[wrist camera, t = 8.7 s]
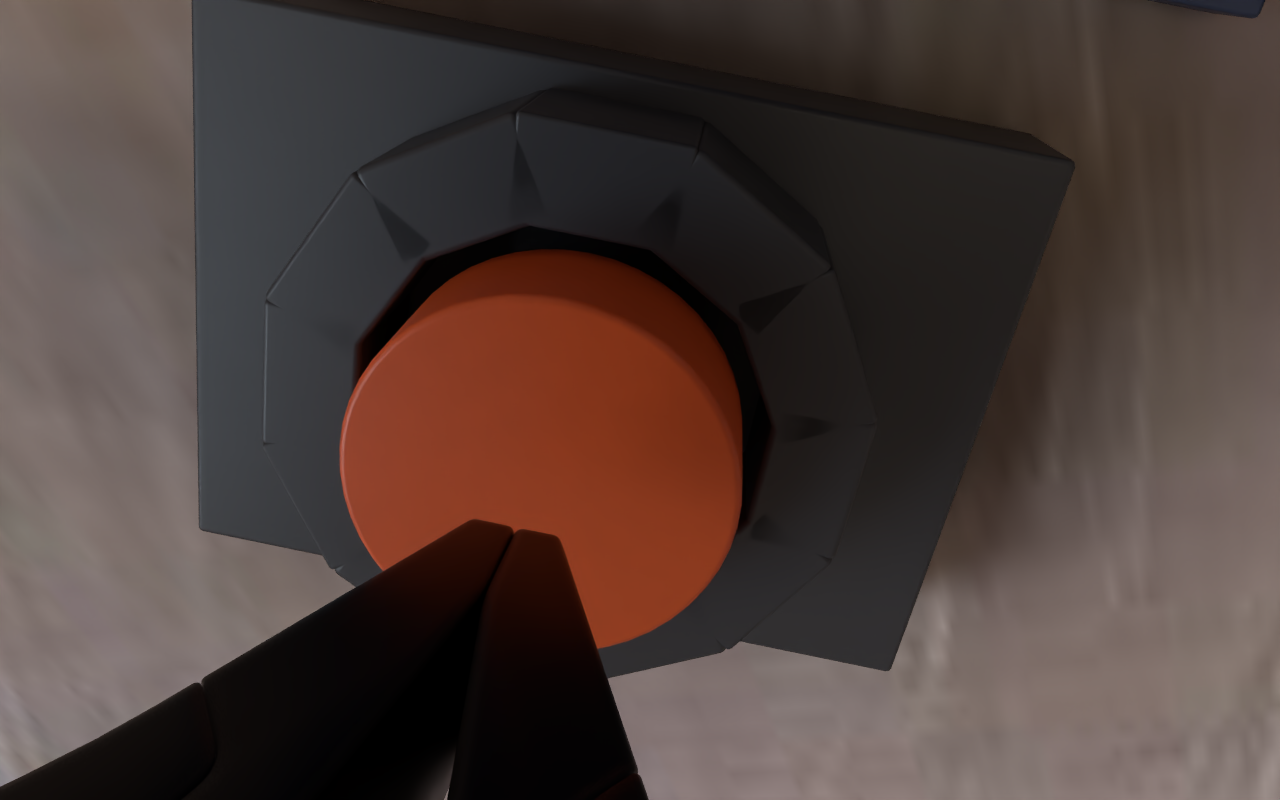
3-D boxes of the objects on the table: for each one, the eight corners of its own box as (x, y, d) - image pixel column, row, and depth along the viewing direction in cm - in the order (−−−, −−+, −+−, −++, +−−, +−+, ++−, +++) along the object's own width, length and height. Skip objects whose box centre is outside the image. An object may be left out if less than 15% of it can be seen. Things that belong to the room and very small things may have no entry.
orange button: (780, 289, 11) (786, 344, 10) (701, 599, 13) (696, 689, 12) (402, 212, 11) (346, 255, 10) (376, 533, 13) (327, 612, 12)
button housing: (1034, 134, 14) (1141, 200, 10) (874, 597, 17) (910, 772, 13) (260, -22, 14) (91, -12, 10) (254, 470, 17) (124, 609, 14)
